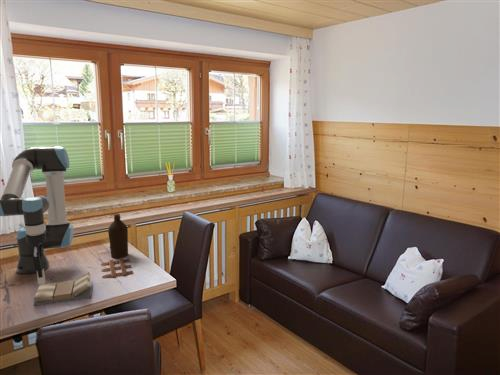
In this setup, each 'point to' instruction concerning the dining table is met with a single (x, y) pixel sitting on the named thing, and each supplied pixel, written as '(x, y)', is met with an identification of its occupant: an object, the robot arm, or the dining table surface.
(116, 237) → the olive oil
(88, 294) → the floor board
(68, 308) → the dining table surface
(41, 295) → the plank
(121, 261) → the decorative fence
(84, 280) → the plank
